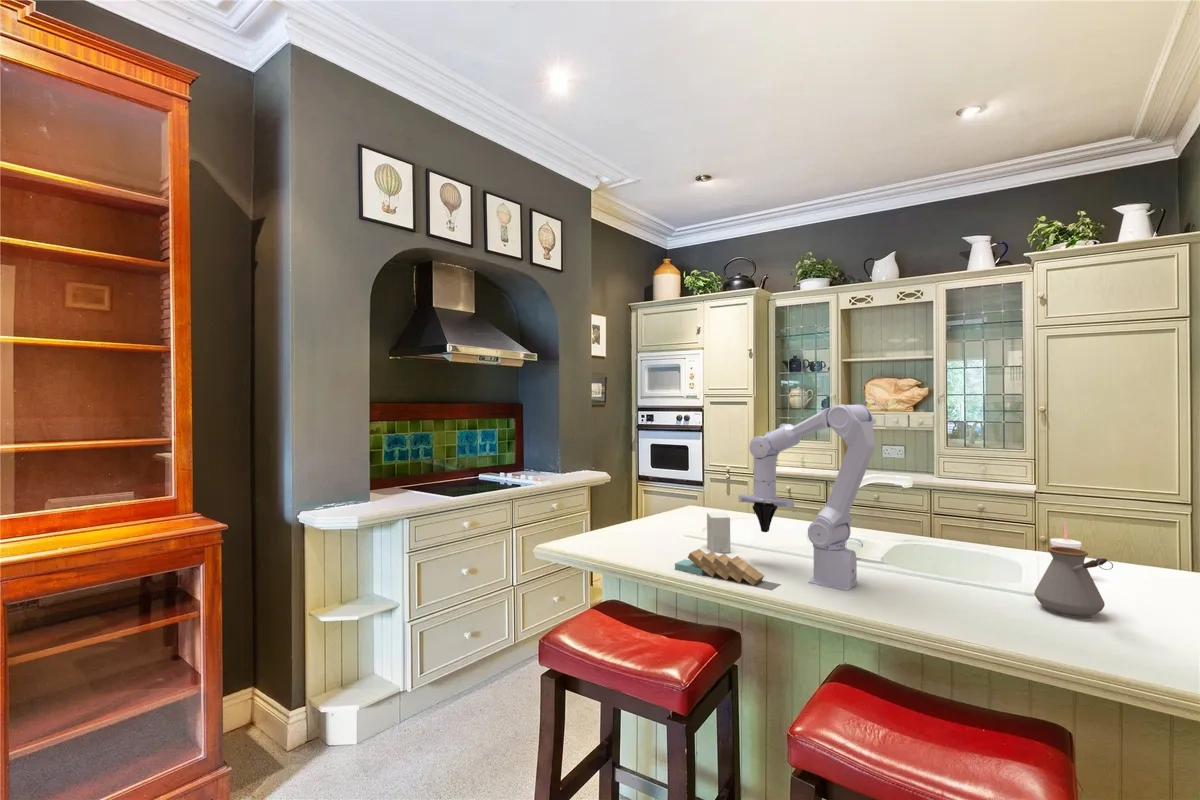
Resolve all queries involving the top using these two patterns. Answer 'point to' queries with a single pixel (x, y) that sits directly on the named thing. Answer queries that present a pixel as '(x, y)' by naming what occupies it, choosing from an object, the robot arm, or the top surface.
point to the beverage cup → (1065, 541)
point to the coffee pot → (1070, 584)
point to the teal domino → (689, 567)
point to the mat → (759, 585)
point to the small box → (718, 532)
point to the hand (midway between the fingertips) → (765, 531)
